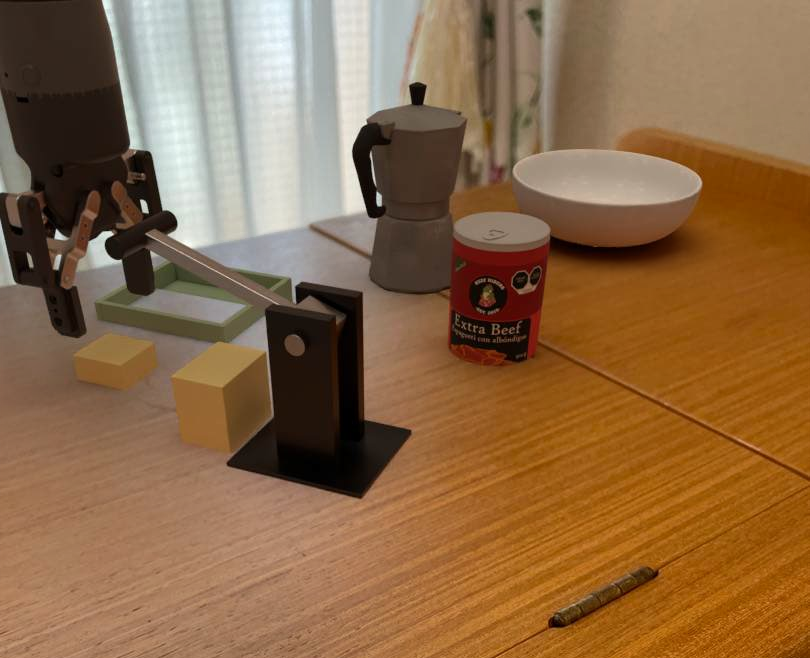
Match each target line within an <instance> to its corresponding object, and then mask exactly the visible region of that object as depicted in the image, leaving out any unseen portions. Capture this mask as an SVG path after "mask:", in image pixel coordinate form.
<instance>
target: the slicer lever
mask: <svg viewBox="0 0 810 658" xmlns="http://www.w3.org/2000/svg"><path fill="white" fill-rule="evenodd" d="M178 225H179V221H178V219H177V216H176V215H175V214H174V213H173V212H172V211H170V210H167V209H163V211H161V212H159V213H157V214H155V215H153V216H151V217H149V218H147V219H145V220H143V221H141V222H139V223H137V224H135V225H133V226H131V227H129V228H127V229H125V230H123V231H121V232H119V233H117V234H115V235H114V234H113V235H111V236H109V237H107V238H106V239H105V240H104V250H105V252H106V253H107V255H108V256H109V257H110V258H111V259H113V260H116V261H122V260H121V259H123V258H125V257H127V256H129V255H130V254H132V253H134V252H136V251H138V250H140V249H142V248H146V249H148V250H150V252H152V253H154V254H155V255H157V256H160V257H161V258H162V259H165V260H166V261H167V260H169V261H170V262H172V263H174V264H176V265H178V266H180V267H182V268H184V269H185V270H187V271H189V272H191V273H193V274H195V275H197V276H198V277H200V278H202V279H204V280H206V281H208V282H210V283H212V284H213V285H215V286H217V287H219V288H221V289H223V290H225V291H227V292H228V293H230V294H232V295H234V296H236V297H238V298H240V299H241V300H243V301H245V302H247V303H249V304H251V305H253V306H255V307H256V308H258V309H260V310H262V311H264V312H265V309H266V308H267V307H268V306H270V305H271V304H277V305H283V306H288V307H294V308H299V309H305V310H310V311H316V312H321V313H327V314H332V315H336V331H337V345H338V342H339V339H340V336H341V333H342V330H343V326H344V323H345V320H346V317H347V315H346V314H344V313H342V312H340V311H338V310H336V309H334V308H333V307H331V306H329V305H327V304H325V303H323V302H321V301H319V300H317V299H316V298H314V297H312V296H308V297H307V298H305V299H304V300H303V301H302V302H300V303H299V304H298V305H297V304H296V302H294V301H293V302H291V301H289V300H287V299H286V298H284V297H282V296H280V295H278V294H276V293H274V292H272V291H271V290H269V289H267V288H265V287H263V286H261V285H259V284H257V283H255V282H254V281H252V280H250V279H248V278H246V277H244V276H242V275H240V274H239V273H237V272H235V271H233V270H231V269H229V268H227V267H228V266H226V265H224V264H222V263H220V262H218V261H216V260H214V259H212V258H210V257H209V256H206V255H204V254H203V253H201V252H199V251H197V250H195V249H193V248H191V247H190V246H188V245H186V244H184V243H182V242H181V241H179V240H176V239H174V238H173V237H171V236H169V235H170V234H172V233H174V232H175V231H177V229H178Z"/></svg>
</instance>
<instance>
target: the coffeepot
mask: <svg viewBox="0 0 810 658" xmlns="http://www.w3.org/2000/svg"><path fill="white" fill-rule="evenodd" d="M427 87H428V85H427V84H425V83H423V82H420V81H415V82H412V83H410V84H409V85H408V88H409V90H408V91H409V96H410V103H409V104H403V105H399V106H395V107H391V108H386V109H385V108H384V109H381V110H377V111H376V112H375V113H373V114H372V115H370V116H369V117H368V118H366V119H365V121H366V124H364V125H363V126H361V127H360V129H359V130H358V131H359V132H358V134H357V136H356V138H355V140H354V142H353V144H352V148H351V156H352V157H351V158H352V162H353V164H354V168H355V172H356V175H357V179H358V184H359V188H360V192H361V196H362V199H363V203H364V207H365V210H366V214H367V217H368V218H369V219H377V220H376V226H375V233H374V239H373V244H372V251H371V256H370V257H371V258H370V264H369V270H368V277H369V278H370V279H371V281H373V283H374V284H376V285H377V286H379V287H381V288H383V289H385V290H388V291H391V292H395V293H402V294H430V293H436V292H440V291H442V290H445V289H448V288H450V284H451V262H452V245H453V232H454V221H453V214H452V213H451V212H450V202H451V201H450V200H451V199H450V198H451V196H452V195H453V194H454V191H455V188H456V182H457V178H458V172H459V168H460V167H459V166H460V161H461V156H462V151H463V146H464V142H465V141H464V140H465V135H466V129H467V124H468V117H465V116H463V115H462V114H463V111H462V110H456V109H451V108H445V107H439V106H432V105H428V104H424V103H425V98H426V93H427V92H426V91H427V89H428V88H427ZM373 174H374V176H373ZM374 180H375V181H374ZM377 194H379V195H381V205H378V202H377V201H378V200H377V196H378V195H377Z"/></svg>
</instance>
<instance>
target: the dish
mask: <svg viewBox="0 0 810 658" xmlns="http://www.w3.org/2000/svg"><path fill="white" fill-rule="evenodd" d="M226 267H227V268H229V269H231V270H233V271H235V272H237V273H239V274H240V275H242V276H244V277H246V278H248V279H250V280H252V281H254V282H255V283H257V284H259V285H261V286H263V287H265V288H267V289H269V290H271V291H272V292H274V293H276V294H278V295H280V296H282V297H284V298H286V299H287V300H289V301H291V302H293V303H294V301H293V284H292V277H288V276H282V275H277V274H270V273H265V272H258V271H254V270H253V271H252V270H247V269H241V268H236V267H229V266H226ZM153 270H154V276H155V279H154V285H155V290H156V289H157V290H163V291H167V292H172V293H176V294H177V293H178V294H184V295H189V296H193V297H199V298H205V299H211V300H216V301H221V302H227V303H232V304H238V305H243V307H242V308H241V309H239V310H238V311H236V312H235V313H234V314H232V315H231V316H229V317H228V318H227V319H225V320H224V321H222V322H221V323H220V322H216V321H210V320H205V319H202V318H201V319H200V318H195V317H191V316H185V315H180V314H174V313H169V312H164V311H158V310H154V309H149V308H143V307H138V306H133V305H131V304H133V303H134V302H136V301H138V300H139V299H140V298H141V299H142V297H144V296H143V295H137V294H132V293H130V292H129V291H128V289H127V286H126V283H125V284H122V285H121V286H120V287H118V288H115V289H114V290H112V291H111V292H109V293H107V294H105V295H104V296H102V297H100V298H99V299H97V300H95V301H94V302H93V303H94V308H95V312H96V317H97V320H100V321H105V322H111V323H115V324H120V325H125V326H130V327H135V328H141V329H145V330H151V331H154V332H159V333H164V334H168V335H169V334H170V335H176V336H180V337H185V338H189V339H195V340H200V341H204V342H209V343H214V344H215V343H216V342H223V343H228V344H230V342H232V341H233V340H234V339H235V338H237V337H238V336H239V335H241V334H242V333H243V332H245V331H246V330H248V329H249V328H250V327H252V326H253V325H254V324H255V323H257V322H258V321H259V320H260V319H262V318H263V317H265V312H264V311H262V310H260V309H258V308H256V307H255V306H253V305H251V304H249V303H247V302H245V301H243V300H241V299H240V298H238V297H236V296H234V295H232V294H230V293H228V292H227V291H225V290H223V289H221V288H219V287H217V286H215V285H213V284H212V283H210V282H208V281H206V280H204V279H202V278H200V277H198V276H197V275H195V274H193V273H191V272H189V271H187V270H185V269H184V268H182V267H180V266H178V265H176V264H174V263H172V262H170V261H169V260H167V259H166V260H165V261H163V262H162V263H160V264H158V265H156V266H154V267H153Z"/></svg>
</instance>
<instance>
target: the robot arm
mask: <svg viewBox="0 0 810 658" xmlns="http://www.w3.org/2000/svg"><path fill="white" fill-rule="evenodd" d="M115 49H116V48H115V44H114V39H113V35H112V30H111V27H110V23H109V19H108V16H107V14H106V10H105V5H104V3H103V0H0V95H1V99H2V103H3V107H4V111H5V115H6V119H7V123H8V127H9V132H10V135H11V139H12V143H13V147H14V151H15V153H16V154H17V156H18V157H19V158H21V160H22V161H24V162H25V164H26V165H27V167H28V170H29V172H30V187H29V190H25V191H23V192H20V193H19V192H18V193H15V192H5V191H4V192H3V191H2V192H0V226H1V230H2V234H3V239H4V243H5V247H6V251H7V252H6V253H7V257H8V261H9V266H10V270H11V275H12V278H13V281H14V283H15V284H16V285H20V286H27V287H32V288H37V289H41V291H42V293H43V296H44V300H45V304H46V309H47V311H48V315H49V316H48V317H49V320H50V324H51V326H52V328H53V329H54V330H55V331H56V332H57V333H58V334H59V335H60V336H64V337H68V338H73V339H79V338H82V337H83V336H85V335H86V334H87V332H88V330H87V326H86V321H85V317H84V316H85V315H84V312H83V307H82V304H81V299H80V298H81V297H80V295H79V289H78V286H77V285H74V284H75V278H76V273H77V270H78V264H79V261H80V260H82V259H83V258H84V257H85V256H86V255H87V253H88V252H87V251H88V247H89V243H90V242H91V241H94V240H95V239H97V238H98V237H99V236H100V235H102V233H104V232H111V233H112V234H113V235H115V234H117V233H119V232H121V231H123V230H125V229H127V228H129V227H131V226H133V225H135V224H137V223H139V222H141V221H143V220H145V219H147V218H149V217H151V216H153V215H155V214H157V213H159V212H161V211H164V209H163V206H162V199H161V194H160V189H159V183H158V179H157V174H156V169H155V164H154V157H153V154H152V152H150V151H149V150H143V149H134V148H130V147H131V138H130V132H129V126H128V121H127V114H126V108H125V103H124V97H123V91H122V86H121V85H122V84H121V79H120V74H119V68H118V67H119V66H118V63H117V62H118V61H117V56H116V50H115ZM141 201H144V202H145V204H146V207H147V212H143V207H142V202H141ZM57 231H58V232H59V233H60V234H61V235H62V236H63V237H65V238H67V239H65V240H64V239H57V238H56V234H57V233H56V232H57ZM28 255H29V256H30V258H31V263H32V266H30V262H29V257H28ZM59 255H60V260H59V265H58V269H56V268H54V267H55V262H56V258H57V257H58V256H59ZM120 261H121V264H122V270H123V275H124V281H125V284H126V286H127V289H128V291H129V292H130V293H132V294H137V295H143V296H142V297H148V296H150V295H152V294H153V293H155V291H156V289H155V285H154V279H155V276H154V270H153V268H154V266H153V259H152V253H151V251H150V250H148V249H146V248H142V249H140V250H138V251H136V252H134V253H132V254H130V255H129V256H127V257H125V258H123V259H121V260H120Z"/></svg>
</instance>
